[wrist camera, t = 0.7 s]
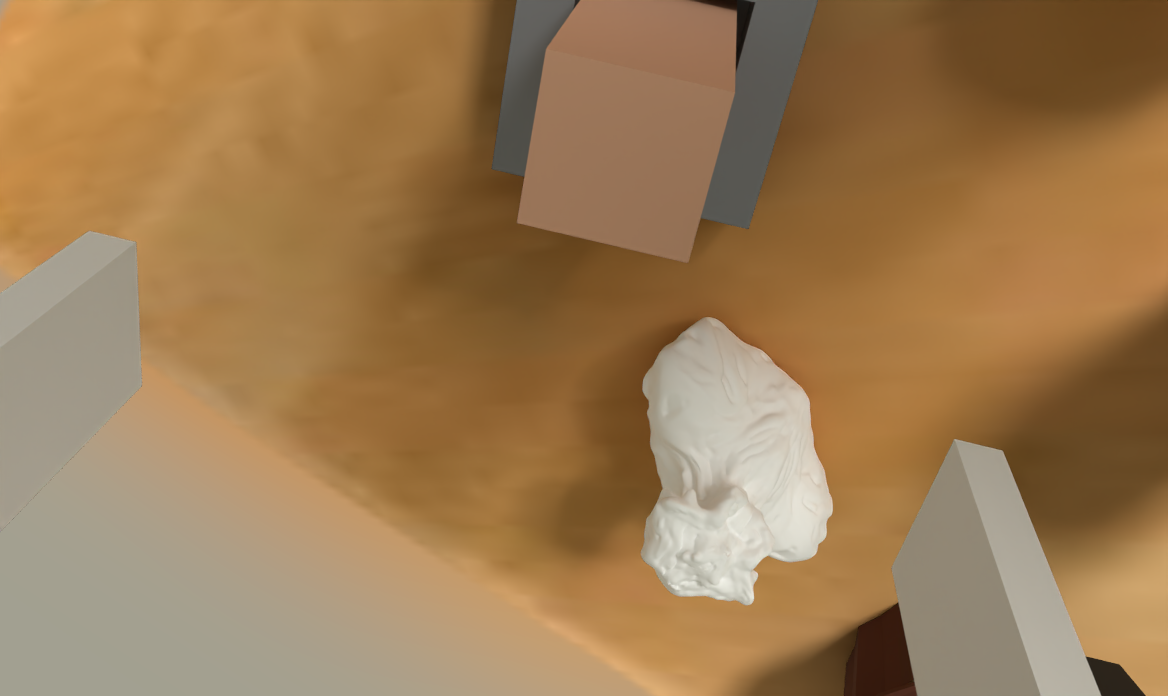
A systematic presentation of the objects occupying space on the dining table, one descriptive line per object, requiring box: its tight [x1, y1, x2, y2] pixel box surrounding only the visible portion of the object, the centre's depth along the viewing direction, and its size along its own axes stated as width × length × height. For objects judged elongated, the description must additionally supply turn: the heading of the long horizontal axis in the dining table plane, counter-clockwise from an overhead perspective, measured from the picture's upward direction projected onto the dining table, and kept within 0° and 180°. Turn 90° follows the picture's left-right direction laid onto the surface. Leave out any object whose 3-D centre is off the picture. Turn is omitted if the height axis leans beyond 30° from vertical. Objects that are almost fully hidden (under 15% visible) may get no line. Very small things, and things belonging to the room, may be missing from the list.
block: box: [517, 0, 737, 263], centre depth 32 cm, size 5×5×12 cm
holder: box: [492, 0, 818, 229], centre depth 36 cm, size 10×10×3 cm
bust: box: [641, 317, 833, 605], centre depth 41 cm, size 12×8×11 cm
